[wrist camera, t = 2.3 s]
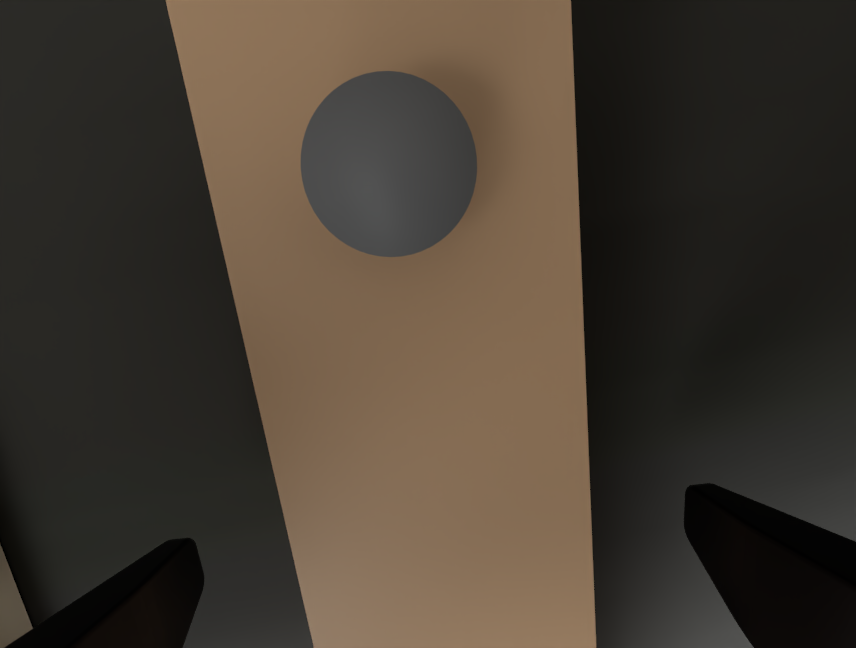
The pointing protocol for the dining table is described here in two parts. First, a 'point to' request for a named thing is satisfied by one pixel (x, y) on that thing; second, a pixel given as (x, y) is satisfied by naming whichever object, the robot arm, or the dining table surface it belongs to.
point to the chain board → (10, 607)
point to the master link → (409, 304)
